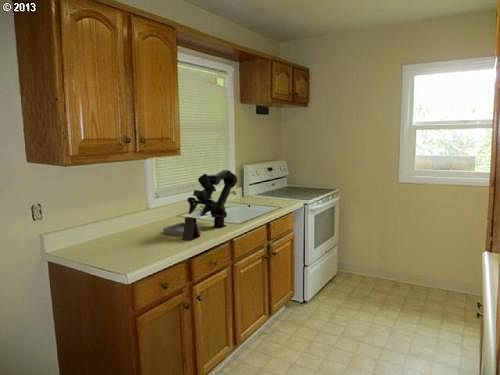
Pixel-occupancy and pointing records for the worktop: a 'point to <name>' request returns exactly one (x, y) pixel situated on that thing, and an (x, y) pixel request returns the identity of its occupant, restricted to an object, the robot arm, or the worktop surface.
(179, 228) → the tray
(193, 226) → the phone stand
